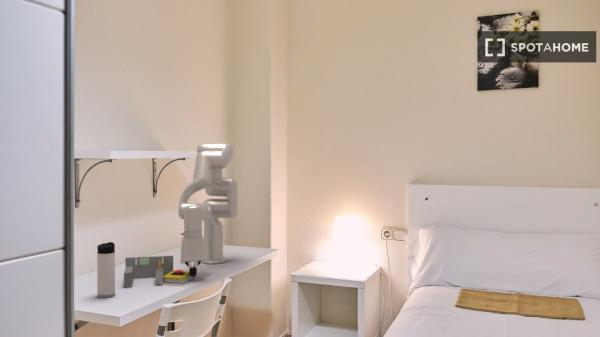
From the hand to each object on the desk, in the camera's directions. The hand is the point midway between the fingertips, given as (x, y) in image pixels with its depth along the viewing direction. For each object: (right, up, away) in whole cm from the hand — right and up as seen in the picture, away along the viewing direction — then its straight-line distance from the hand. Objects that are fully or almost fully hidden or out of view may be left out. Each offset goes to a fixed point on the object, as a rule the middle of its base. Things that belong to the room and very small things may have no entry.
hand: (192, 276), depth 212 cm
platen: (-13, -2, -3) cm, 14 cm away
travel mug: (-28, -2, -23) cm, 36 cm away
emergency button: (-6, -2, -1) cm, 7 cm away
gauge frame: (-18, -2, -2) cm, 18 cm away
